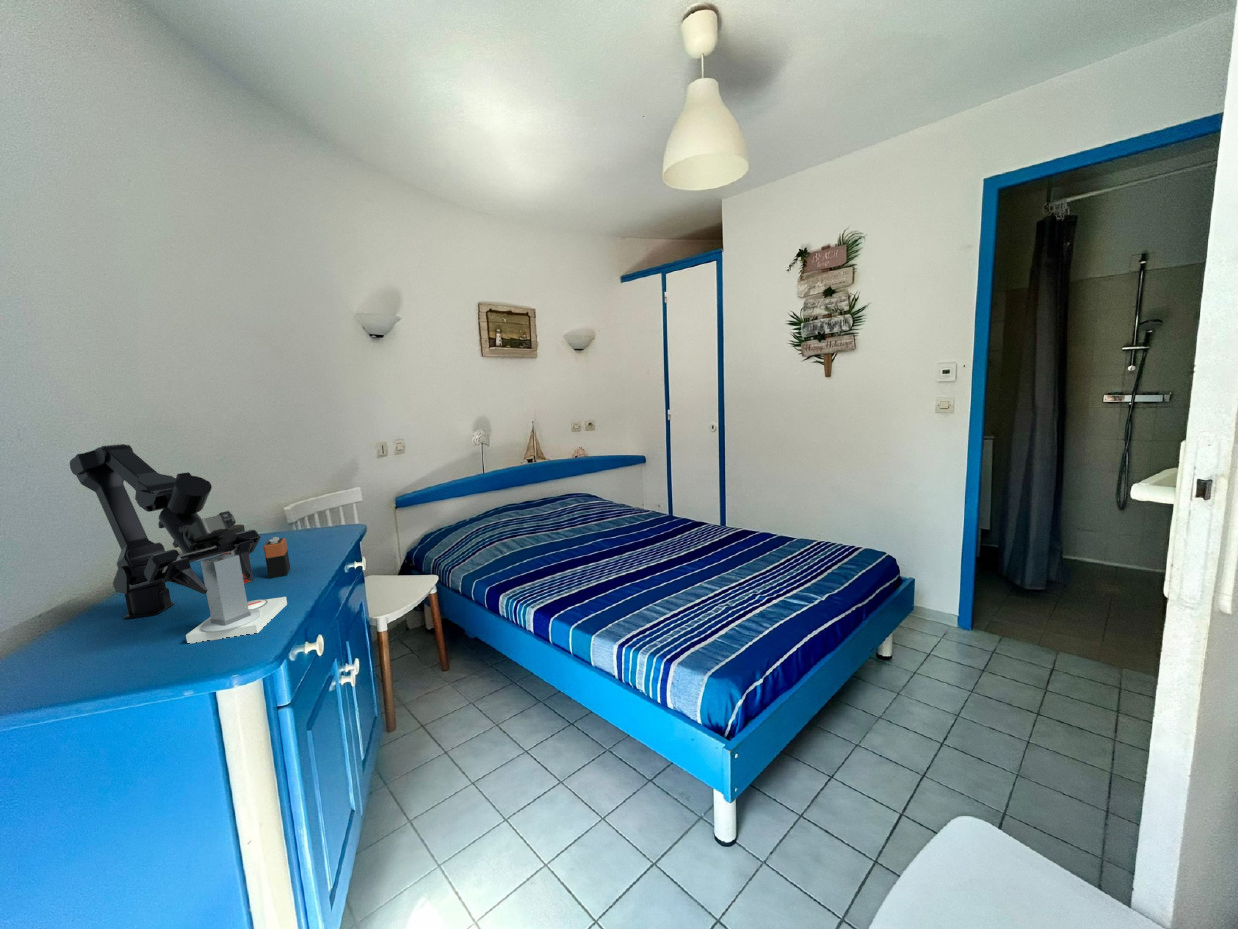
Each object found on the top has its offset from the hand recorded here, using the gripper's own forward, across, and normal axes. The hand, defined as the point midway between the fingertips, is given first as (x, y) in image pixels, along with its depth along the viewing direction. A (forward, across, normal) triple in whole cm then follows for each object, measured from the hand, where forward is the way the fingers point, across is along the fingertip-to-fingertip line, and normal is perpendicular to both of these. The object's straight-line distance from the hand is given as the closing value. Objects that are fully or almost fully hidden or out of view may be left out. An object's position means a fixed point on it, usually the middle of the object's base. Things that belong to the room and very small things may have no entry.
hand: (229, 584), depth 100 cm
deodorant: (-15, +18, +30) cm, 38 cm away
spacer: (+4, 0, +6) cm, 8 cm away
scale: (+4, +3, +9) cm, 11 cm away
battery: (-12, +26, +27) cm, 40 cm away
